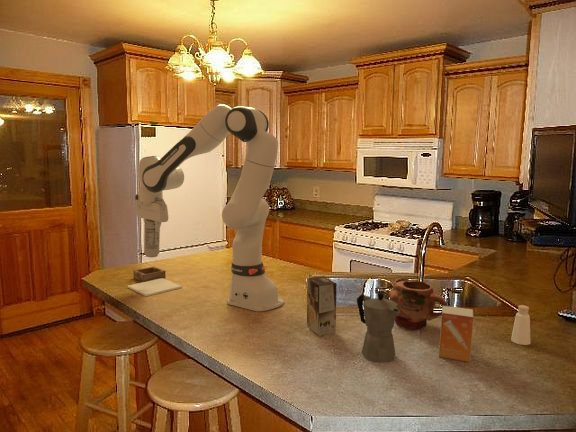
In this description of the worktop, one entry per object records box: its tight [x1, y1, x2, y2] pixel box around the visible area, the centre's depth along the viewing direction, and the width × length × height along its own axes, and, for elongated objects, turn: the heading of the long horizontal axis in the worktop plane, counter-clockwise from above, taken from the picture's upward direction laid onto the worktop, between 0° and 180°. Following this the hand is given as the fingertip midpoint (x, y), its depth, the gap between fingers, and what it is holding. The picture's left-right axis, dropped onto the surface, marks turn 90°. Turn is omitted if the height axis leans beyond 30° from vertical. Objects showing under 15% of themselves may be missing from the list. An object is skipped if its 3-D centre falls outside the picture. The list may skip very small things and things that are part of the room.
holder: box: [132, 266, 167, 283], centre depth 194 cm, size 10×10×4 cm
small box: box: [438, 305, 474, 363], centre depth 121 cm, size 8×6×13 cm
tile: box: [127, 278, 183, 297], centre depth 181 cm, size 16×16×1 cm
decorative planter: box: [388, 280, 448, 331], centre depth 141 cm, size 20×12×14 cm, turn 52°
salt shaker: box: [510, 304, 531, 346], centre depth 130 cm, size 5×5×11 cm
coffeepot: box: [356, 292, 400, 363], centre depth 121 cm, size 15×9×18 cm, turn 35°
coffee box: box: [306, 275, 337, 337], centre depth 138 cm, size 9×6×16 cm
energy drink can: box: [143, 219, 161, 258], centre depth 178 cm, size 6×6×15 cm
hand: (152, 230), depth 177 cm, fingers closed on energy drink can, 6 cm apart
